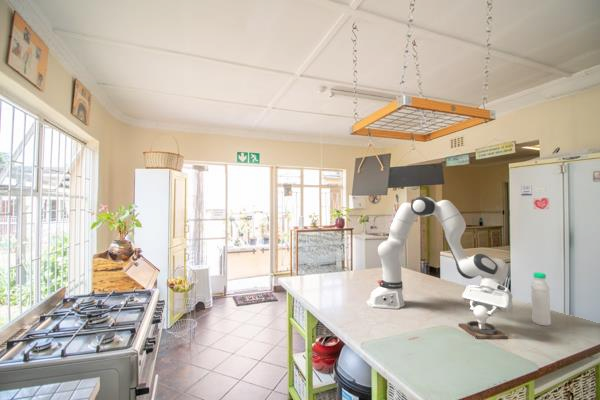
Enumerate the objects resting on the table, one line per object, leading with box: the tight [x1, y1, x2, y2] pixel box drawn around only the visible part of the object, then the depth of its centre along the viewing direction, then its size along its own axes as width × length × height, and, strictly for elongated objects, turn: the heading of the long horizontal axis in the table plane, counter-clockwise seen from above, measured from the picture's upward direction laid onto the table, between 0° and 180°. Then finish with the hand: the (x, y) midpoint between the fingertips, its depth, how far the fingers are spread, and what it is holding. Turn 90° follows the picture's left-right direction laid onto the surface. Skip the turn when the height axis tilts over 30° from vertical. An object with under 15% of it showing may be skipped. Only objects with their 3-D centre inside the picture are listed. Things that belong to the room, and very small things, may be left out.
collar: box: [467, 320, 498, 335], centre depth 131 cm, size 12×12×2 cm
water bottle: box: [530, 271, 552, 327], centre depth 141 cm, size 7×7×25 cm
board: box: [458, 322, 509, 340], centre depth 131 cm, size 14×14×1 cm
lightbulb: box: [472, 304, 490, 330], centre depth 131 cm, size 6×6×11 cm
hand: (480, 312), depth 130 cm, fingers open, 6 cm apart
